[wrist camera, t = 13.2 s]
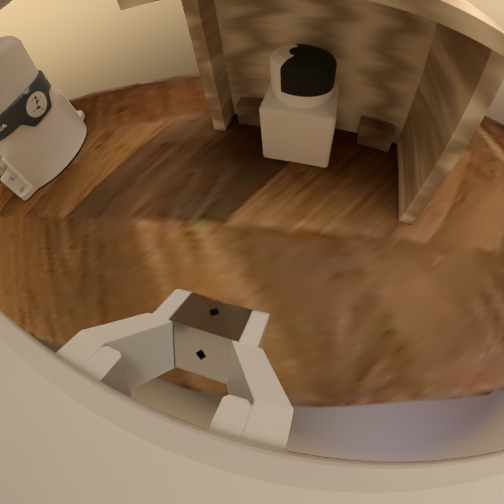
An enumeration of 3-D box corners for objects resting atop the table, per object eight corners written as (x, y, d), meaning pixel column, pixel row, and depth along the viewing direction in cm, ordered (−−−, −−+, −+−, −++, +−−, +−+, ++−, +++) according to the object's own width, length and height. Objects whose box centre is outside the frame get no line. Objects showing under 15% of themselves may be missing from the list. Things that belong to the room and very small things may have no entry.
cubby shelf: (189, 178, 30) (115, -7, 10) (227, 106, 34) (198, -40, 15) (411, 224, 25) (518, 43, 6) (406, 139, 30) (454, -8, 10)
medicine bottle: (332, 127, 31) (344, 44, 20) (327, 169, 29) (343, 76, 18) (276, 118, 32) (271, 35, 21) (262, 158, 30) (253, 65, 19)
